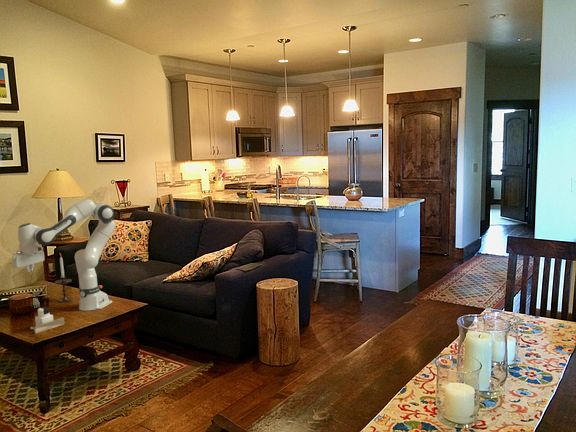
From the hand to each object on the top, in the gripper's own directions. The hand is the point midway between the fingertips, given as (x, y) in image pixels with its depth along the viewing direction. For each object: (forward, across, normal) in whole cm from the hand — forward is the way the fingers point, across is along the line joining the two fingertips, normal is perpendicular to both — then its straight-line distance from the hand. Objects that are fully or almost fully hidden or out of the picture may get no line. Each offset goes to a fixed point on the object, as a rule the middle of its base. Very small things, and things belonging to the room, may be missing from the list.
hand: (30, 271), depth 297 cm
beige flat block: (+31, -8, -17) cm, 36 cm away
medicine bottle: (+31, -8, -17) cm, 37 cm away
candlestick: (+31, +37, +14) cm, 50 cm away
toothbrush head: (+32, +25, +30) cm, 50 cm away
